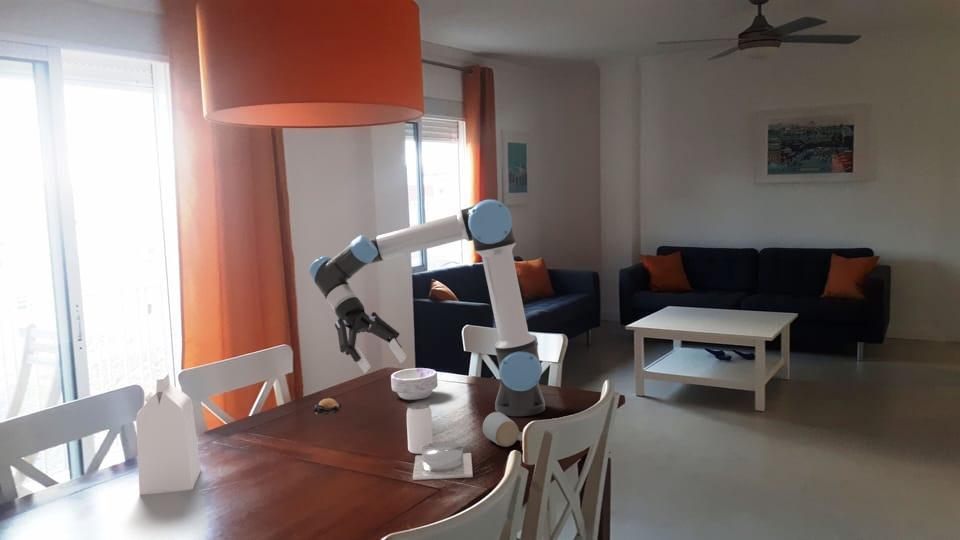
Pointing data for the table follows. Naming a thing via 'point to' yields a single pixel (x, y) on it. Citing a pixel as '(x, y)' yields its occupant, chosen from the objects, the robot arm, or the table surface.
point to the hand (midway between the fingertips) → (386, 364)
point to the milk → (167, 441)
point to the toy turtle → (327, 406)
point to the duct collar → (442, 462)
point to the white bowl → (414, 383)
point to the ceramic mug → (501, 429)
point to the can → (419, 427)
